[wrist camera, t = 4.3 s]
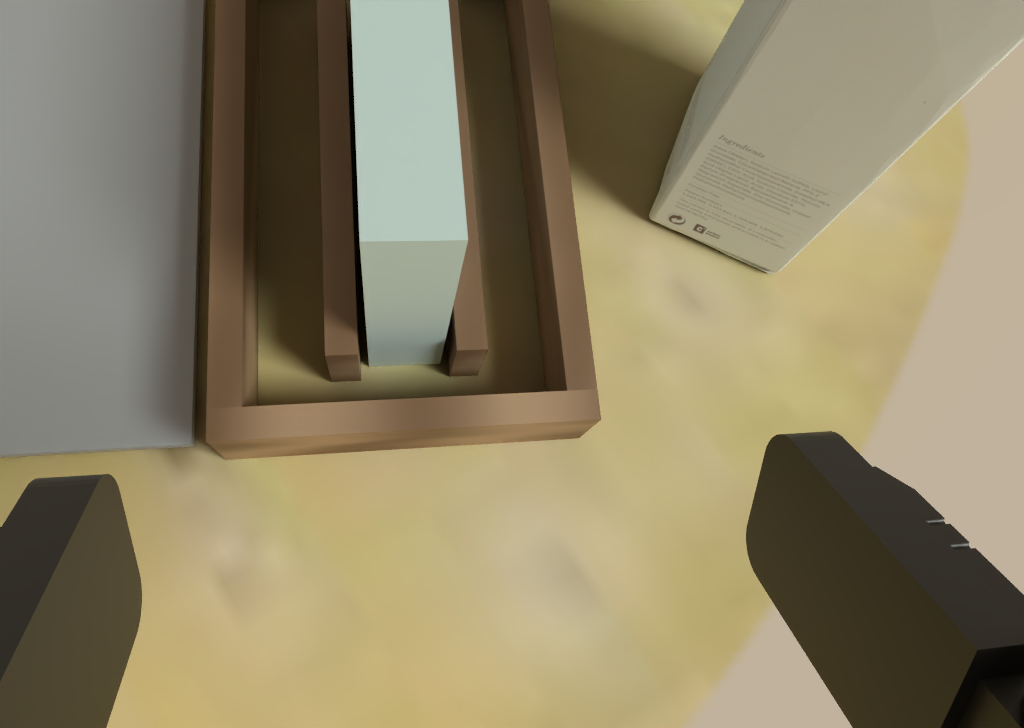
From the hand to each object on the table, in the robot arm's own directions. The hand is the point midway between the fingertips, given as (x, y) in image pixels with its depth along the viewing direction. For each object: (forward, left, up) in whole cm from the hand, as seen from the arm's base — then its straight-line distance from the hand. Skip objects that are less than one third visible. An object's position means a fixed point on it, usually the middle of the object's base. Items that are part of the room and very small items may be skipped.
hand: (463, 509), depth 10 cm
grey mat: (-13, +14, -16) cm, 25 cm away
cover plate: (0, +14, -17) cm, 22 cm away
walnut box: (0, +14, -16) cm, 22 cm away
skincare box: (+14, +15, -17) cm, 26 cm away
